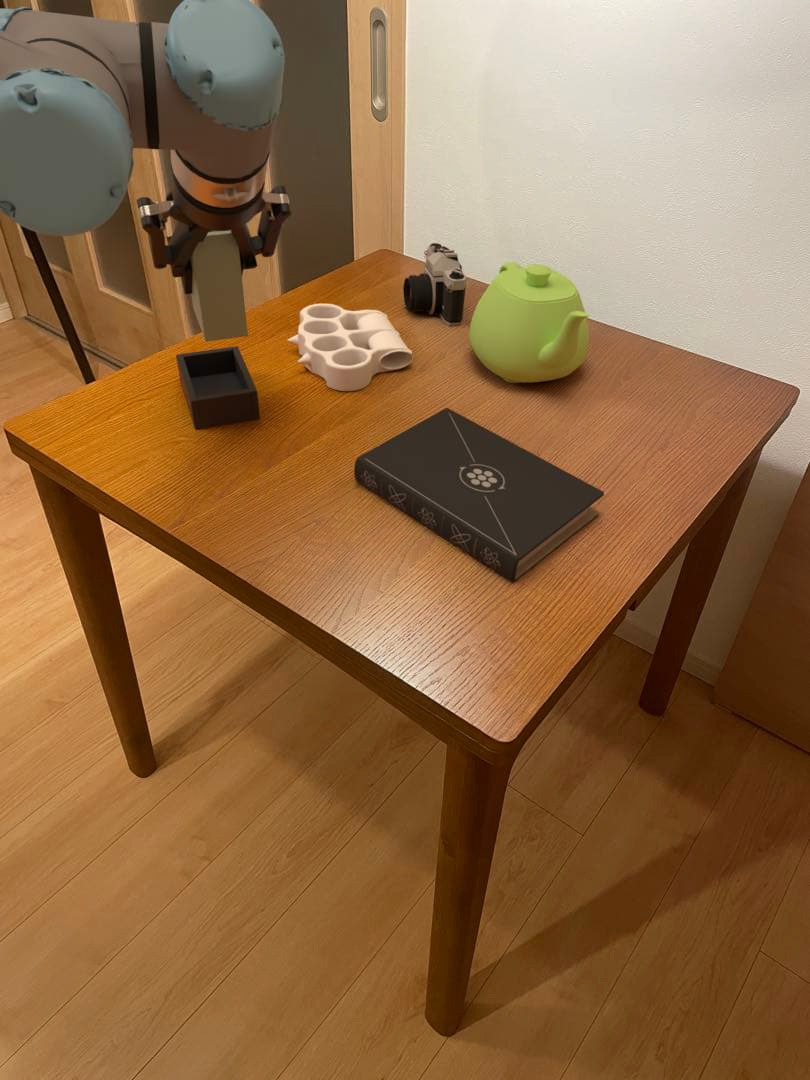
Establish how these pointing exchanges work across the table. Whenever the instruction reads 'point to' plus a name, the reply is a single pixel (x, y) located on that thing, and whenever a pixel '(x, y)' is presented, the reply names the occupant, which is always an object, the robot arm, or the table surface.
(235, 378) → the socket
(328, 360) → the knuckle duster
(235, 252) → the grey-green lidded box
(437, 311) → the camera
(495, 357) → the teapot
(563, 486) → the book
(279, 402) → the table surface
